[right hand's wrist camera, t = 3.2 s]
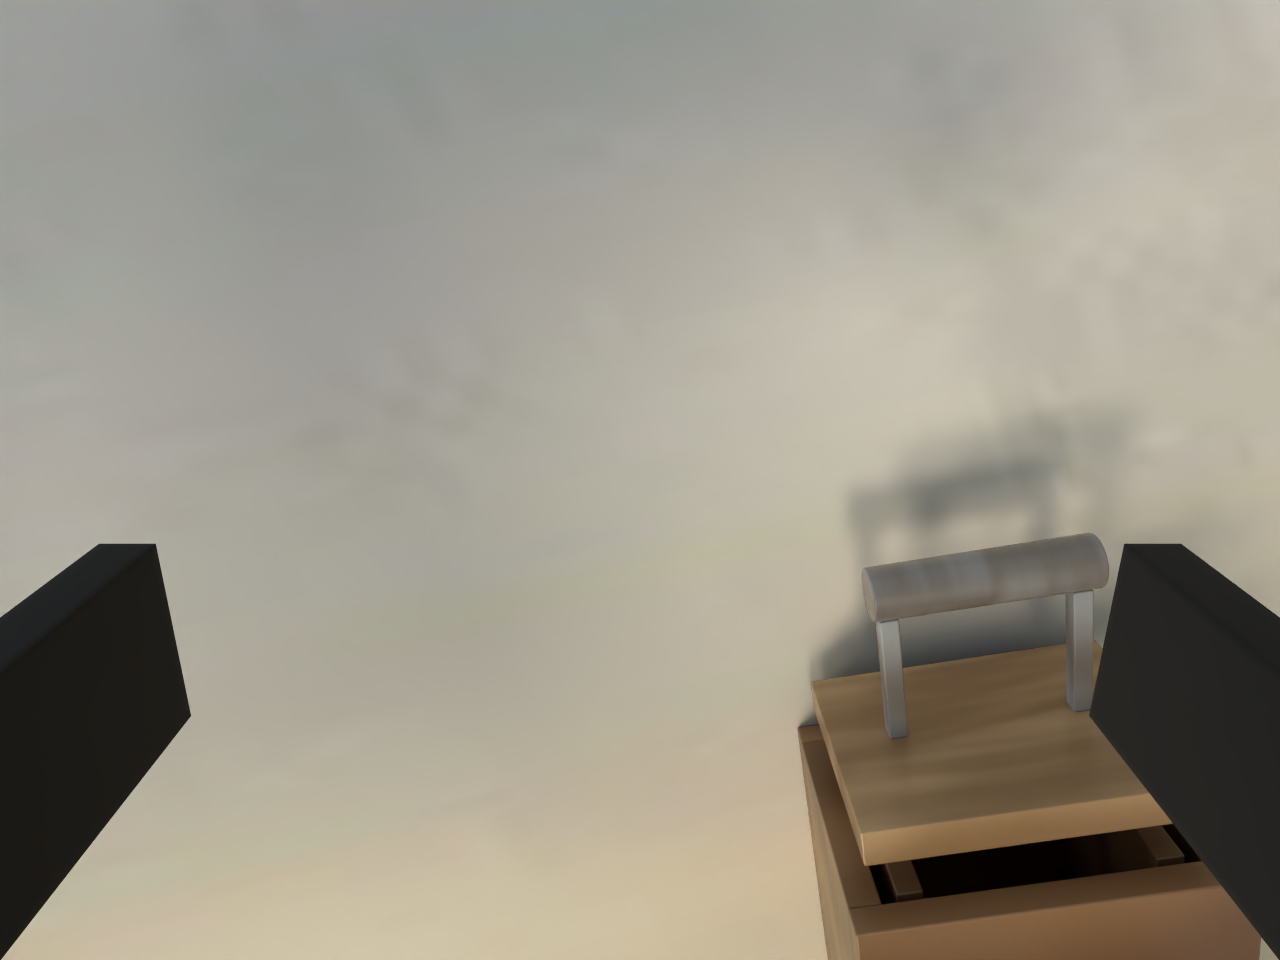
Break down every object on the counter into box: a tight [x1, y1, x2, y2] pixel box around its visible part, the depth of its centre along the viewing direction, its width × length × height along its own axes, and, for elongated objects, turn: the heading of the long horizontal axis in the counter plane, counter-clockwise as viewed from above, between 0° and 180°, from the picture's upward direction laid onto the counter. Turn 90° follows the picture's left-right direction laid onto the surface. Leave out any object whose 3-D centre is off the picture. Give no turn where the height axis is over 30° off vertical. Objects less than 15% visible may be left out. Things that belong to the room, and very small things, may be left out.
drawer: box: [811, 533, 1184, 905], centre depth 31 cm, size 26×10×8 cm, turn 10°
